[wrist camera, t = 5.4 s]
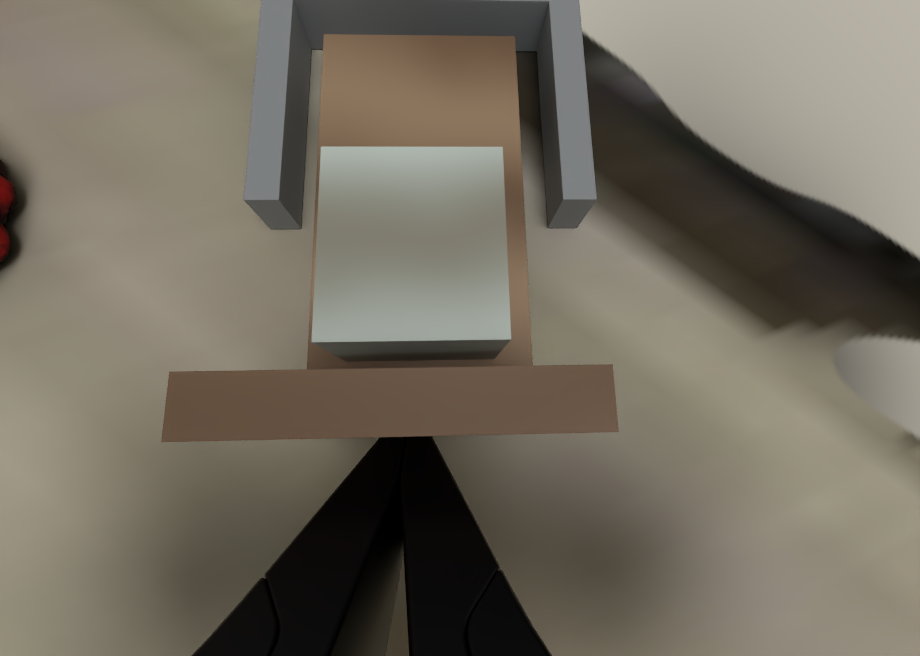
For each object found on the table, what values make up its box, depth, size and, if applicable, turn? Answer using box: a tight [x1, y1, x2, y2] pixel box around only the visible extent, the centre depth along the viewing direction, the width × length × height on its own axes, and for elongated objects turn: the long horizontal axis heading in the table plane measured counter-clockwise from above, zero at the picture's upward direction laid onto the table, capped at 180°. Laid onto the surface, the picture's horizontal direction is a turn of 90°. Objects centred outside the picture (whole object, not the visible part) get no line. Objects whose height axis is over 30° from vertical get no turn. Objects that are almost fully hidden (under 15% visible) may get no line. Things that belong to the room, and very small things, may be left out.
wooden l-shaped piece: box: [161, 34, 618, 442], centre depth 13 cm, size 14×7×10 cm, turn 1°
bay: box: [244, 0, 597, 229], centre depth 17 cm, size 10×12×2 cm
